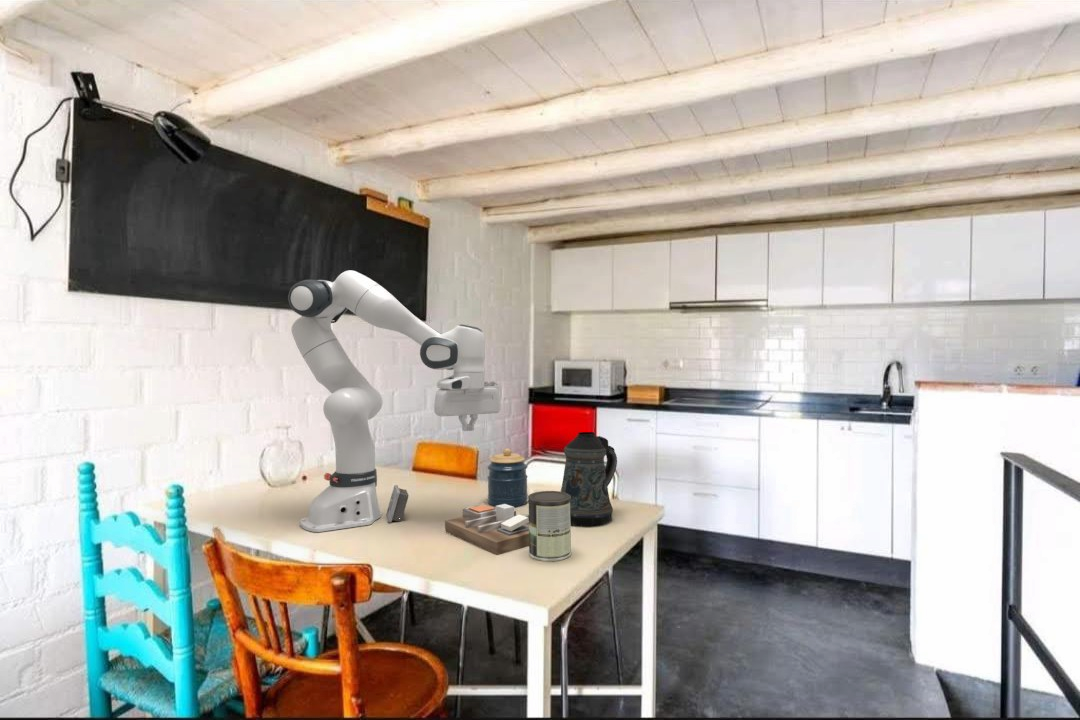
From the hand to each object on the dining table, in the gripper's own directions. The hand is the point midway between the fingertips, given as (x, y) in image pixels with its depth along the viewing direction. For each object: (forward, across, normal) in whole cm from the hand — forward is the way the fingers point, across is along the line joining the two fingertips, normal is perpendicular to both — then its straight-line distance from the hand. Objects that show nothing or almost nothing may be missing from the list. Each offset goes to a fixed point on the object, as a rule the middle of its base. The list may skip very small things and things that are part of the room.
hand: (467, 430), depth 165 cm
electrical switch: (+28, +13, -18) cm, 35 cm away
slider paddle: (+23, -3, +15) cm, 28 cm away
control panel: (+26, -1, +15) cm, 30 cm away
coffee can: (+26, -2, +35) cm, 43 cm away
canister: (+26, -22, -10) cm, 36 cm away
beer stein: (+26, -30, +18) cm, 43 cm away
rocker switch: (+21, -1, +22) cm, 31 cm away
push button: (+23, -1, +7) cm, 24 cm away
